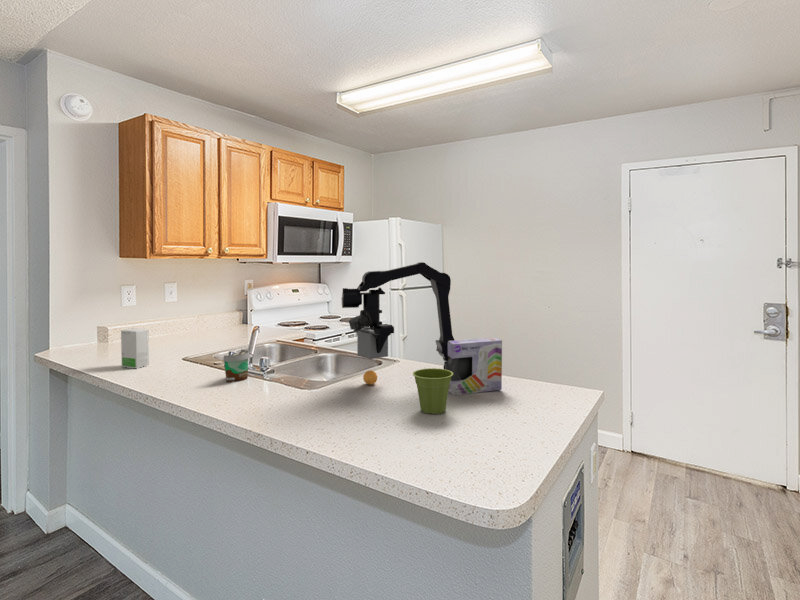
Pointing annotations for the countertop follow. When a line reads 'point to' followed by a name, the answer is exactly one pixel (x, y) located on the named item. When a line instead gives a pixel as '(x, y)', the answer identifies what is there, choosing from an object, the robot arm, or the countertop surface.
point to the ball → (370, 377)
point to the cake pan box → (475, 365)
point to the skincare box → (135, 348)
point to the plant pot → (433, 389)
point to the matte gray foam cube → (369, 345)
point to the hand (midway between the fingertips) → (371, 351)
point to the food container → (237, 366)
